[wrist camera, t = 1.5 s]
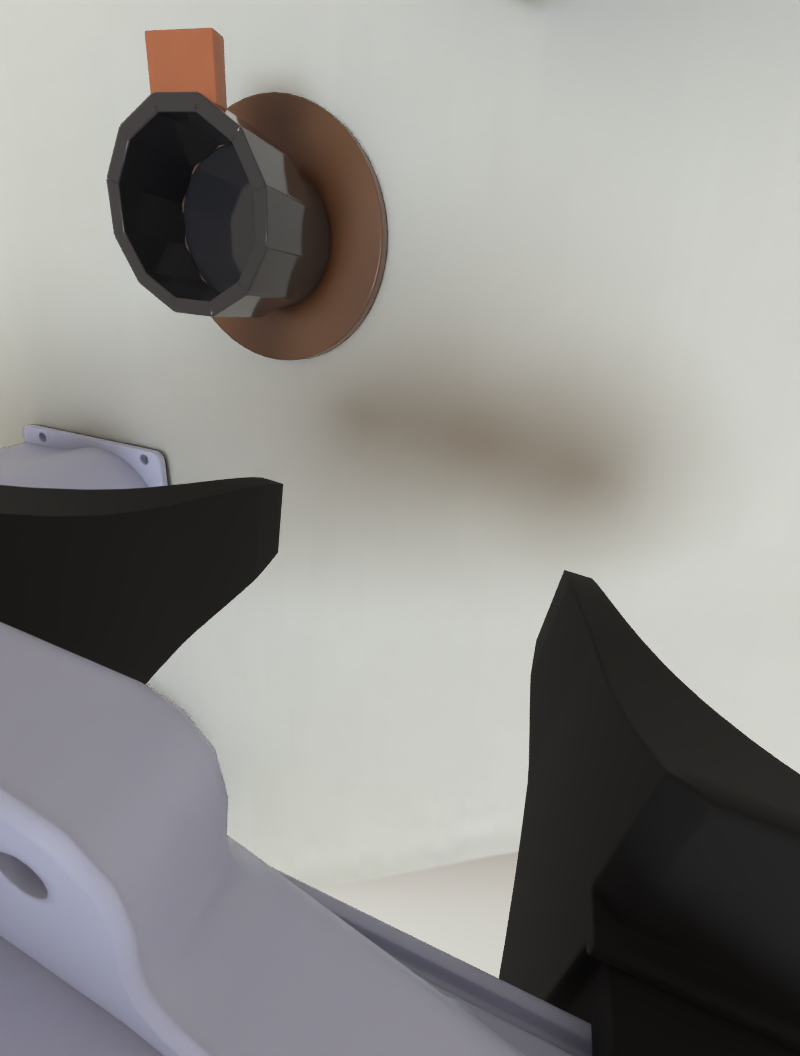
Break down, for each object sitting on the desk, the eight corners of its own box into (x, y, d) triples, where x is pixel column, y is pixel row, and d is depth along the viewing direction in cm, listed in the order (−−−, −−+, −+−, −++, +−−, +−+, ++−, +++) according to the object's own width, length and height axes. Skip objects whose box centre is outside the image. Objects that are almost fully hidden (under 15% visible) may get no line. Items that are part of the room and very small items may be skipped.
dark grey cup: (218, 309, 20) (123, 305, 16) (205, 101, 17) (84, 25, 13) (336, 324, 19) (269, 323, 15) (344, 101, 16) (263, 17, 12)
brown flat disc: (198, 346, 22) (189, 347, 21) (178, 98, 18) (167, 92, 18) (378, 372, 20) (373, 373, 19) (398, 98, 16) (393, 90, 15)
